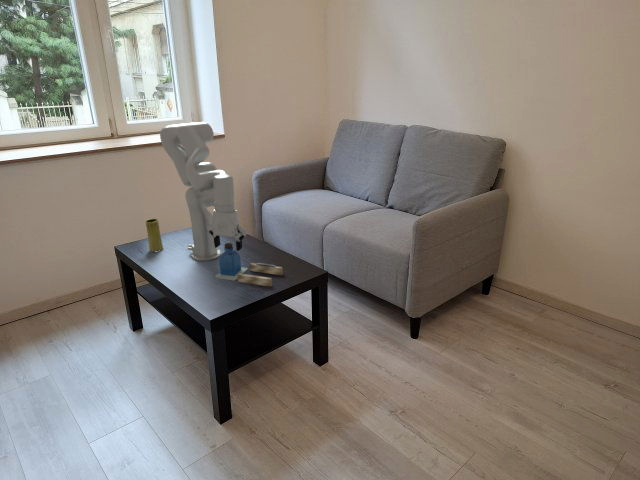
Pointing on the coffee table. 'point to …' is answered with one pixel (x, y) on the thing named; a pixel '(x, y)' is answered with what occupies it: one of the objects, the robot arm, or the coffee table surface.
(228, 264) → the perfume bottle
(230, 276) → the mat
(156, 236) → the vase
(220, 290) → the coffee table surface
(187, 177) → the robot arm
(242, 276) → the cradle
